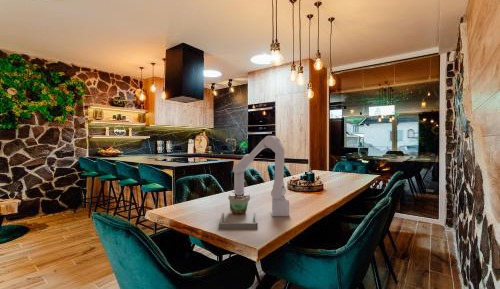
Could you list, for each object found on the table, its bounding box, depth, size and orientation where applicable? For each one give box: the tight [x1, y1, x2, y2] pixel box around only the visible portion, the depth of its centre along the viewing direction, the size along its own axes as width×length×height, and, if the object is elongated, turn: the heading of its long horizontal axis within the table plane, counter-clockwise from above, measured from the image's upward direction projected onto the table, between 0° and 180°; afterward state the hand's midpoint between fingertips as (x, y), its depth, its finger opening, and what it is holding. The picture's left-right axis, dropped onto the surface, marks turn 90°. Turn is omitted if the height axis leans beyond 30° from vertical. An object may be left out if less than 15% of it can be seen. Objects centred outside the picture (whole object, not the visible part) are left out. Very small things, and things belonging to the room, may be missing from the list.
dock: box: [218, 212, 259, 230], centre depth 128 cm, size 18×17×2 cm
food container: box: [227, 194, 251, 216], centre depth 142 cm, size 12×6×10 cm, turn 101°
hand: (239, 207), depth 151 cm, fingers open, 7 cm apart
